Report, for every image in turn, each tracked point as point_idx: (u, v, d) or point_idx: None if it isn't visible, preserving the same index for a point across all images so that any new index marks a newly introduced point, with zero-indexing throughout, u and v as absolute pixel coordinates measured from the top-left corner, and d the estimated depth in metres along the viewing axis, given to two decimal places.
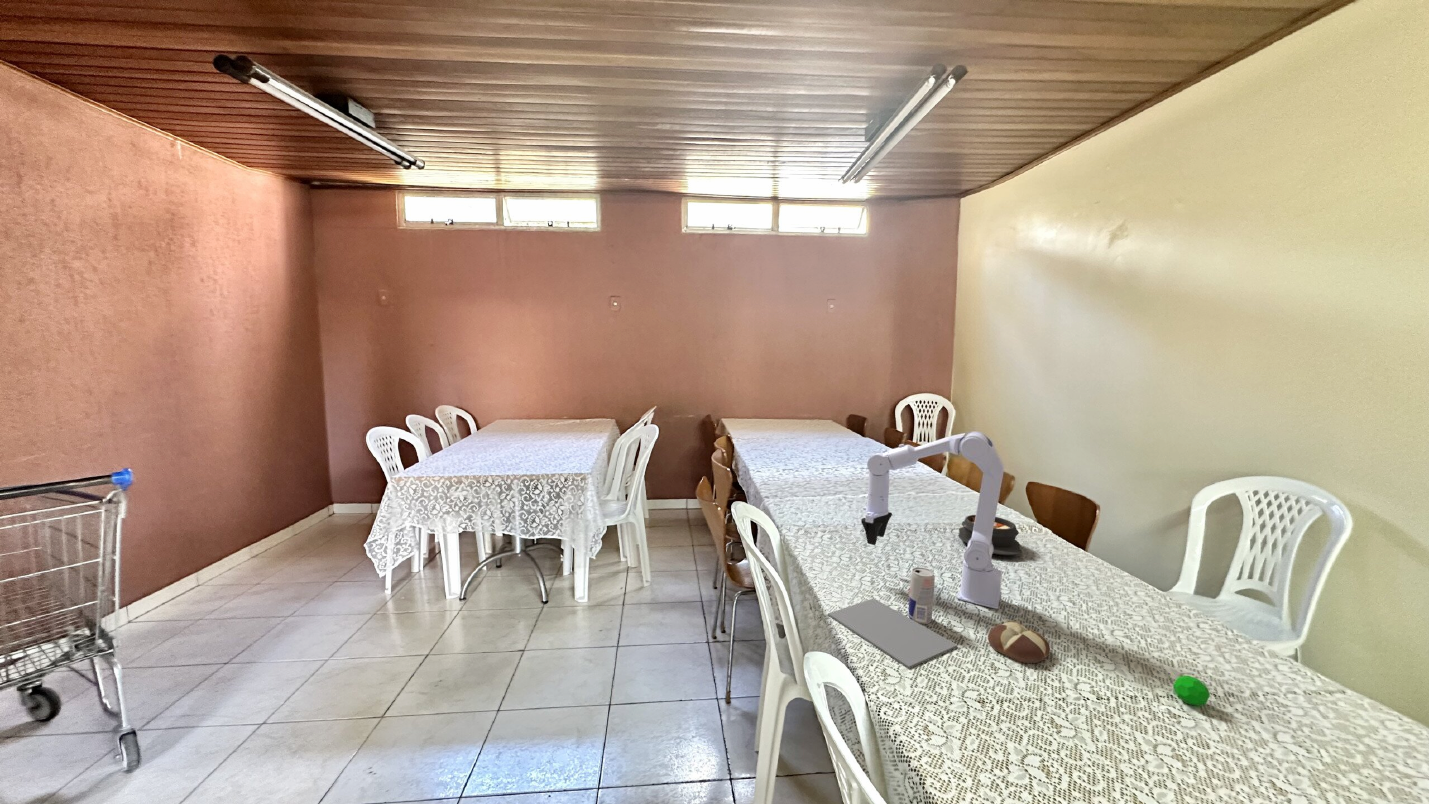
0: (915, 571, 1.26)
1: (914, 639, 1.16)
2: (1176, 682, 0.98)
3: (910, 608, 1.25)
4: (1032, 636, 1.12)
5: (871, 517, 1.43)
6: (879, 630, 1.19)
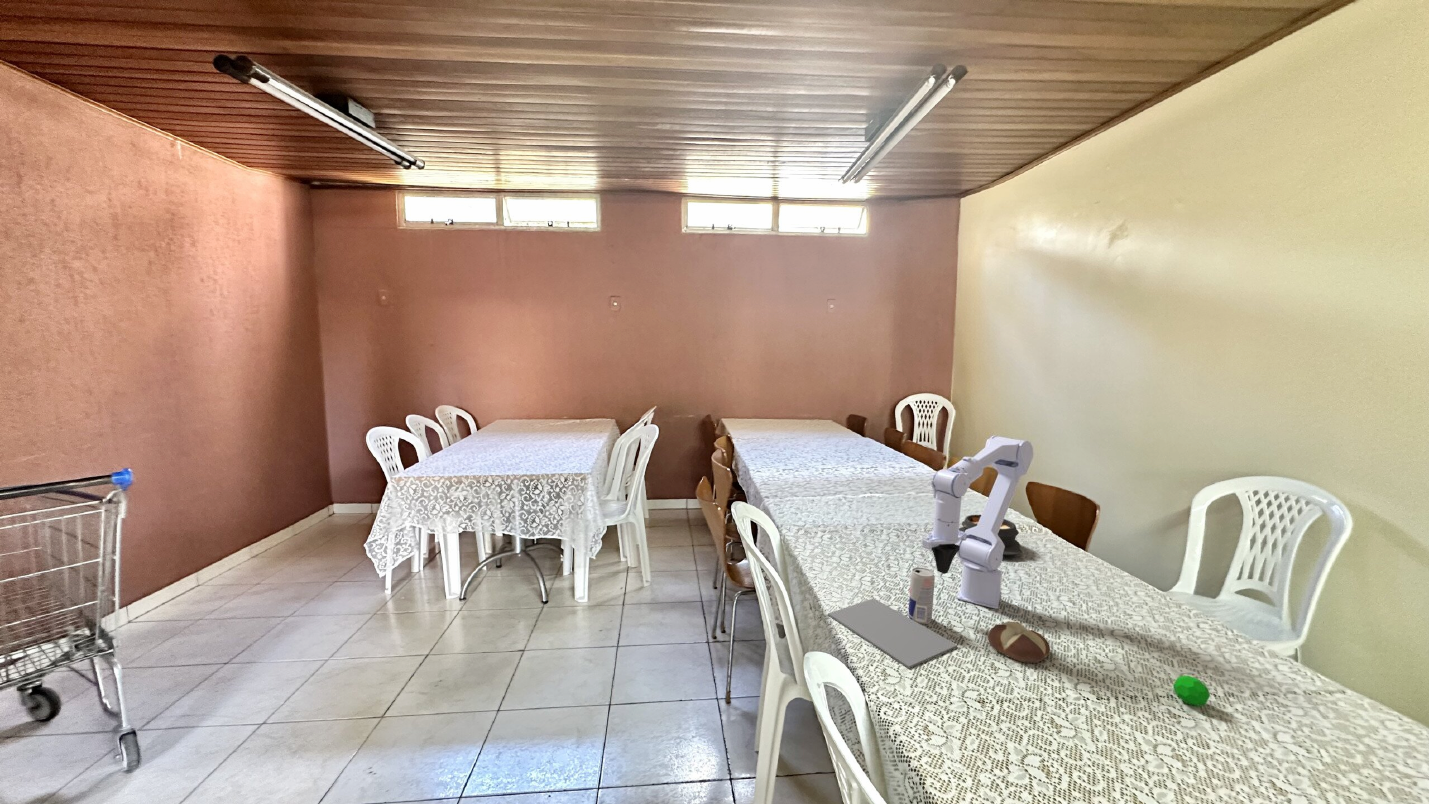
0: (915, 571, 1.26)
1: (914, 639, 1.16)
2: (1176, 682, 0.98)
3: (910, 608, 1.25)
4: (1032, 636, 1.12)
5: (928, 543, 1.23)
6: (879, 630, 1.19)
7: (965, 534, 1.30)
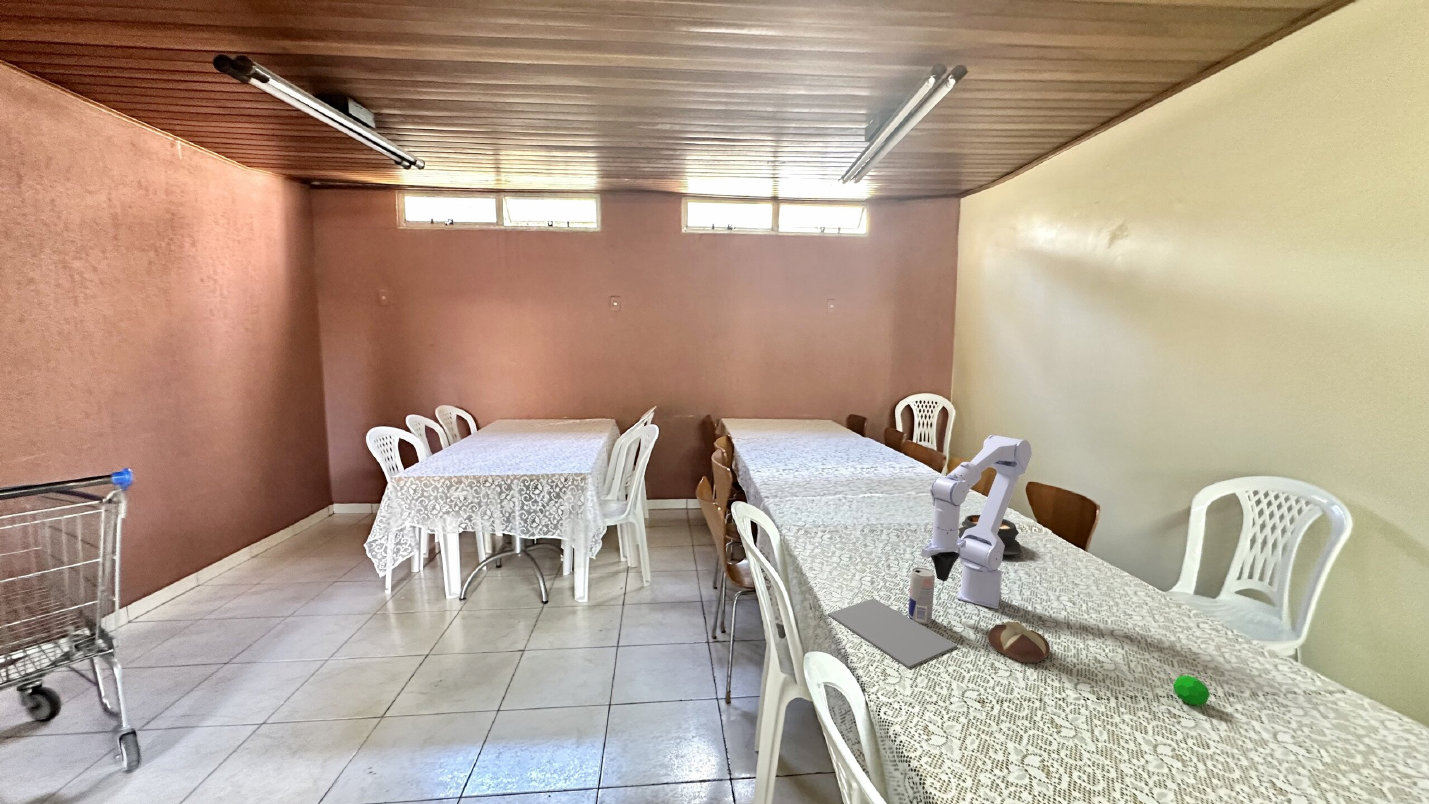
0: (915, 571, 1.26)
1: (914, 639, 1.16)
2: (1176, 682, 0.98)
3: (910, 608, 1.25)
4: (1032, 636, 1.12)
5: (927, 551, 1.24)
6: (879, 630, 1.19)
7: (964, 541, 1.30)
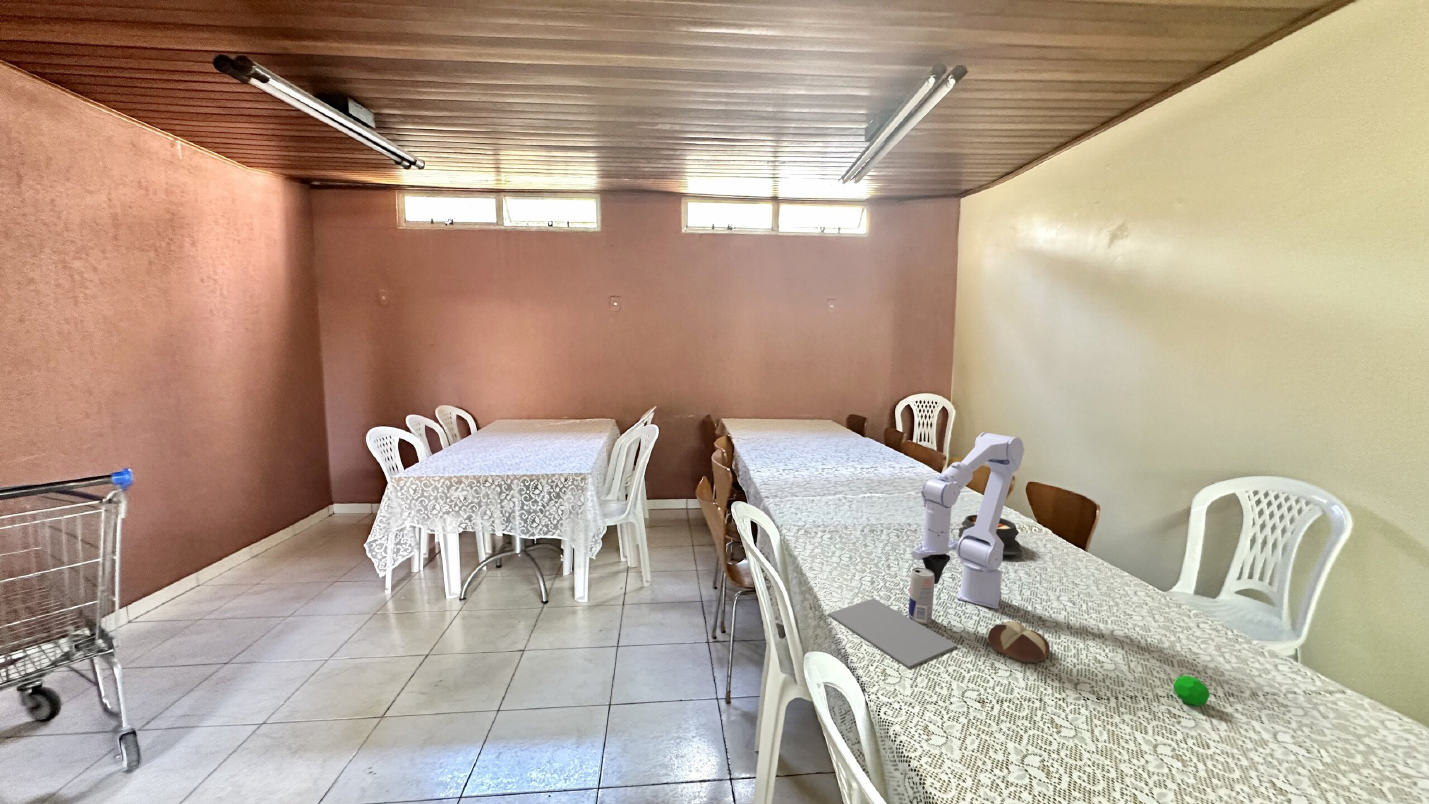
0: (915, 571, 1.26)
1: (914, 639, 1.16)
2: (1176, 682, 0.98)
3: (910, 608, 1.25)
4: (1032, 636, 1.12)
5: (918, 553, 1.22)
6: (879, 630, 1.19)
7: (956, 543, 1.29)
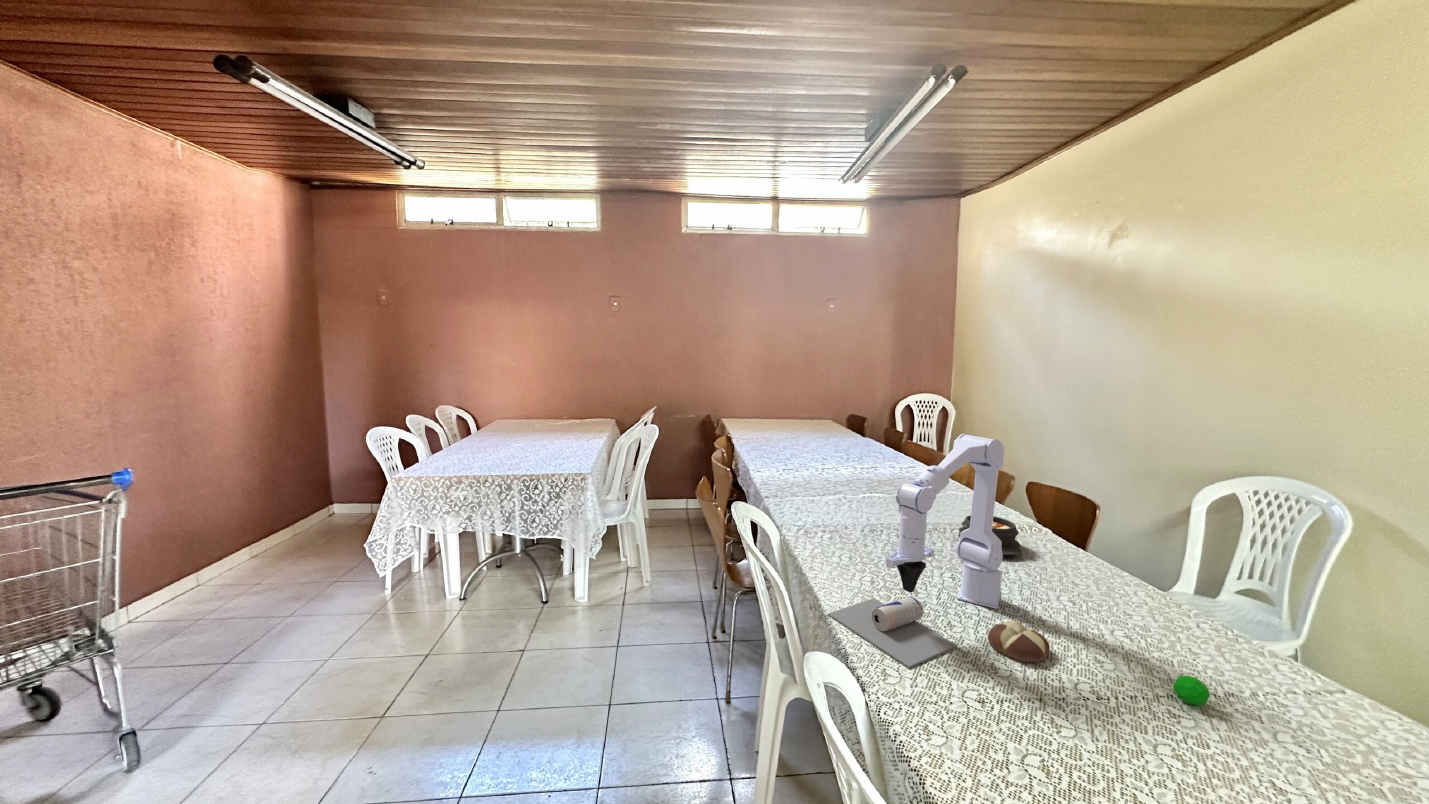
0: (875, 620, 1.21)
1: (914, 639, 1.16)
2: (1176, 682, 0.98)
3: None
4: (1032, 636, 1.12)
5: (891, 561, 1.17)
6: (879, 630, 1.19)
7: (932, 550, 1.24)
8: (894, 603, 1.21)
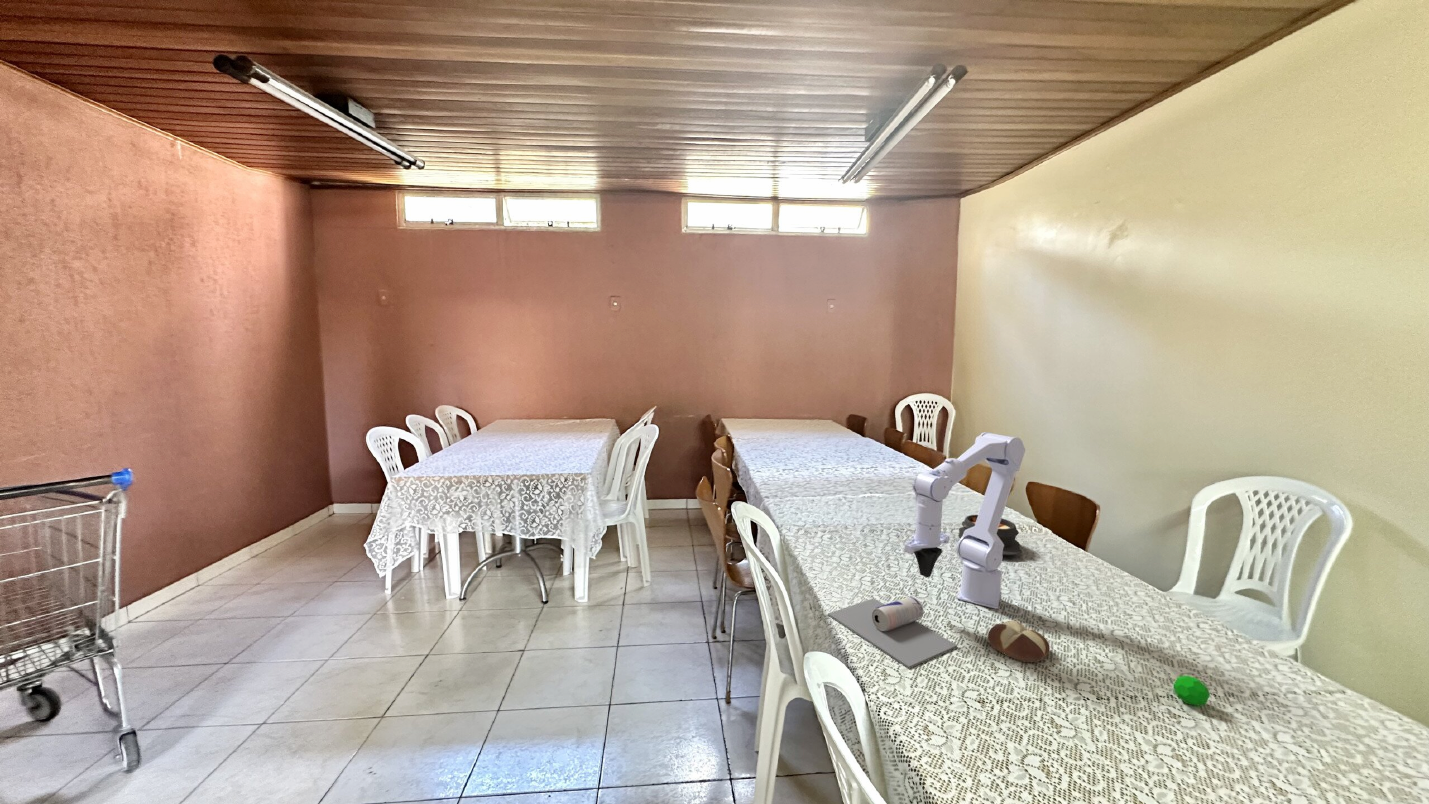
0: (875, 620, 1.21)
1: (914, 639, 1.16)
2: (1176, 682, 0.98)
3: None
4: (1031, 635, 1.13)
5: (910, 547, 1.23)
6: (879, 630, 1.19)
7: (947, 537, 1.30)
8: (894, 603, 1.21)
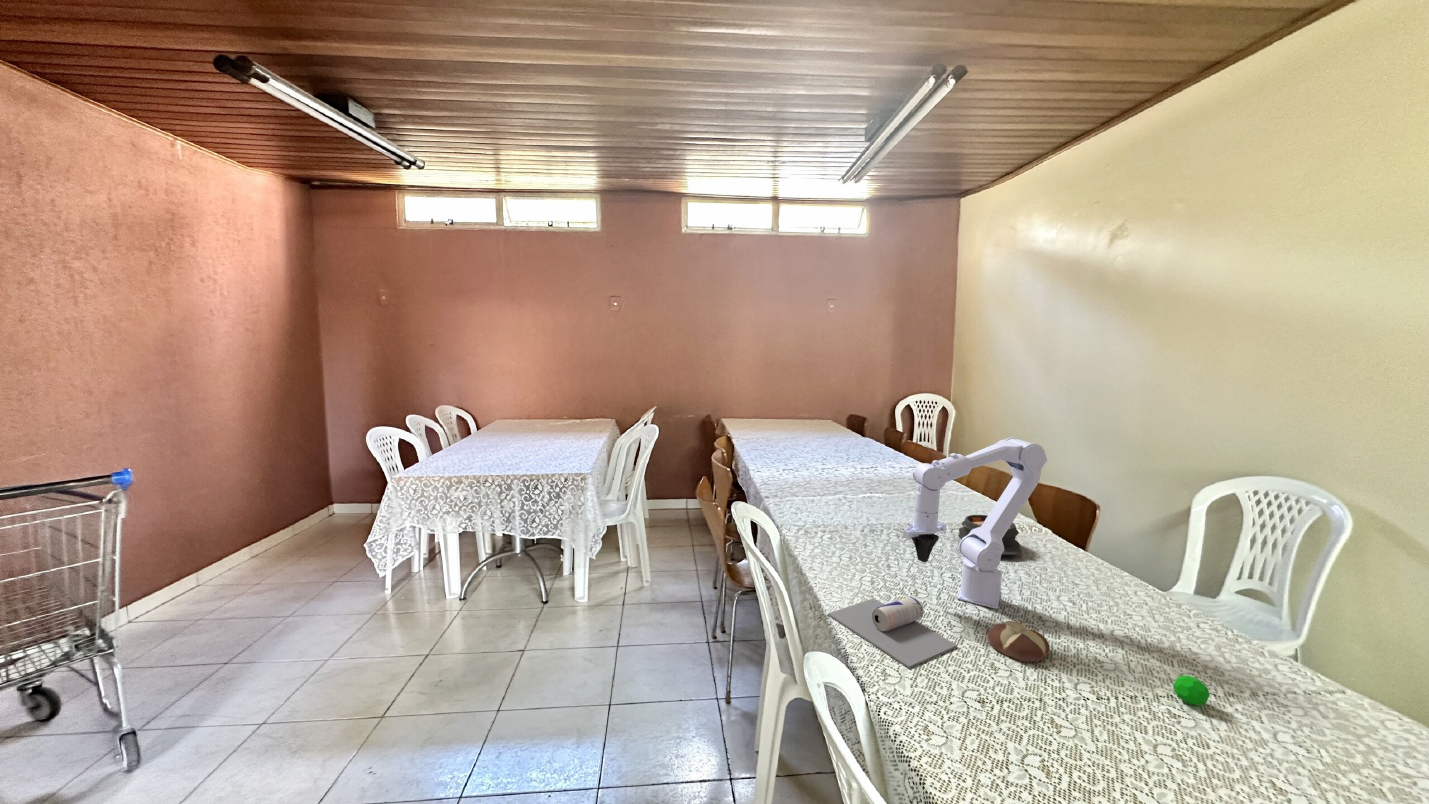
0: (875, 620, 1.21)
1: (914, 639, 1.16)
2: (1176, 682, 0.98)
3: None
4: (1031, 635, 1.13)
5: (908, 533, 1.30)
6: (879, 630, 1.19)
7: (944, 525, 1.36)
8: (894, 603, 1.21)
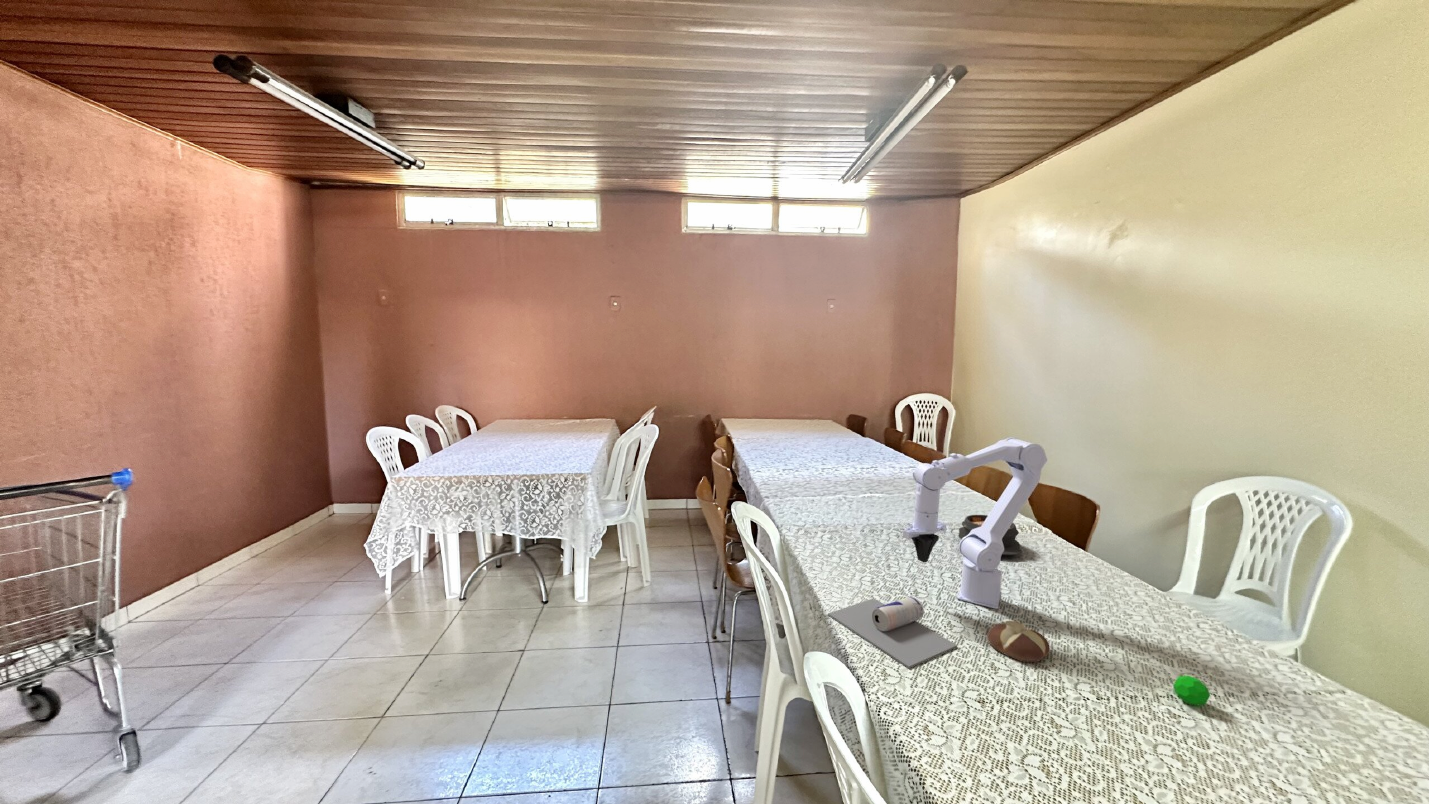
0: (875, 620, 1.21)
1: (914, 639, 1.16)
2: (1176, 682, 0.98)
3: None
4: (1031, 635, 1.13)
5: (908, 533, 1.30)
6: (879, 630, 1.19)
7: (944, 525, 1.36)
8: (894, 603, 1.21)
